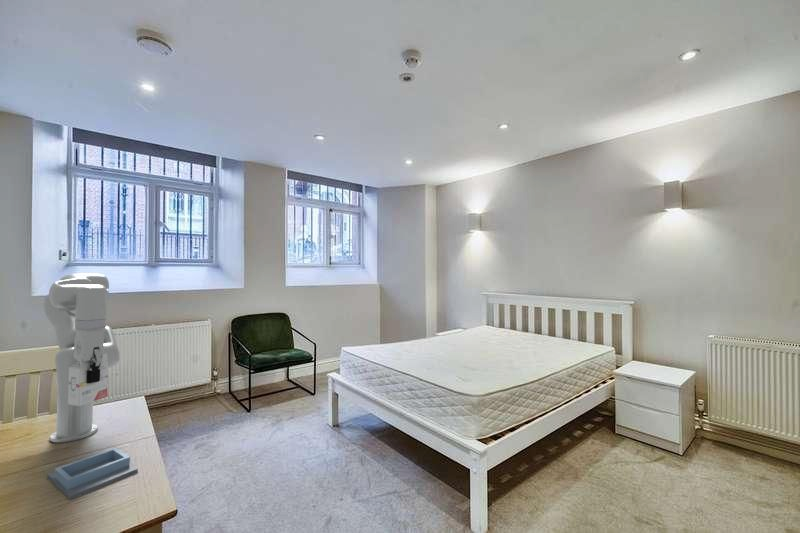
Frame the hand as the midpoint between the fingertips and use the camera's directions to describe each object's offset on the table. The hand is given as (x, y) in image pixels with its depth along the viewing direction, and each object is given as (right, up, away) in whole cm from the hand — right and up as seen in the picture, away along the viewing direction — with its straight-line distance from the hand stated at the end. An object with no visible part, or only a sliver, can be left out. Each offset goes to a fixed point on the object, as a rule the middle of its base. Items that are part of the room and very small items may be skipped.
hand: (88, 379), depth 112 cm
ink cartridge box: (0, -7, 0) cm, 7 cm away
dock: (+11, -24, -11) cm, 29 cm away
